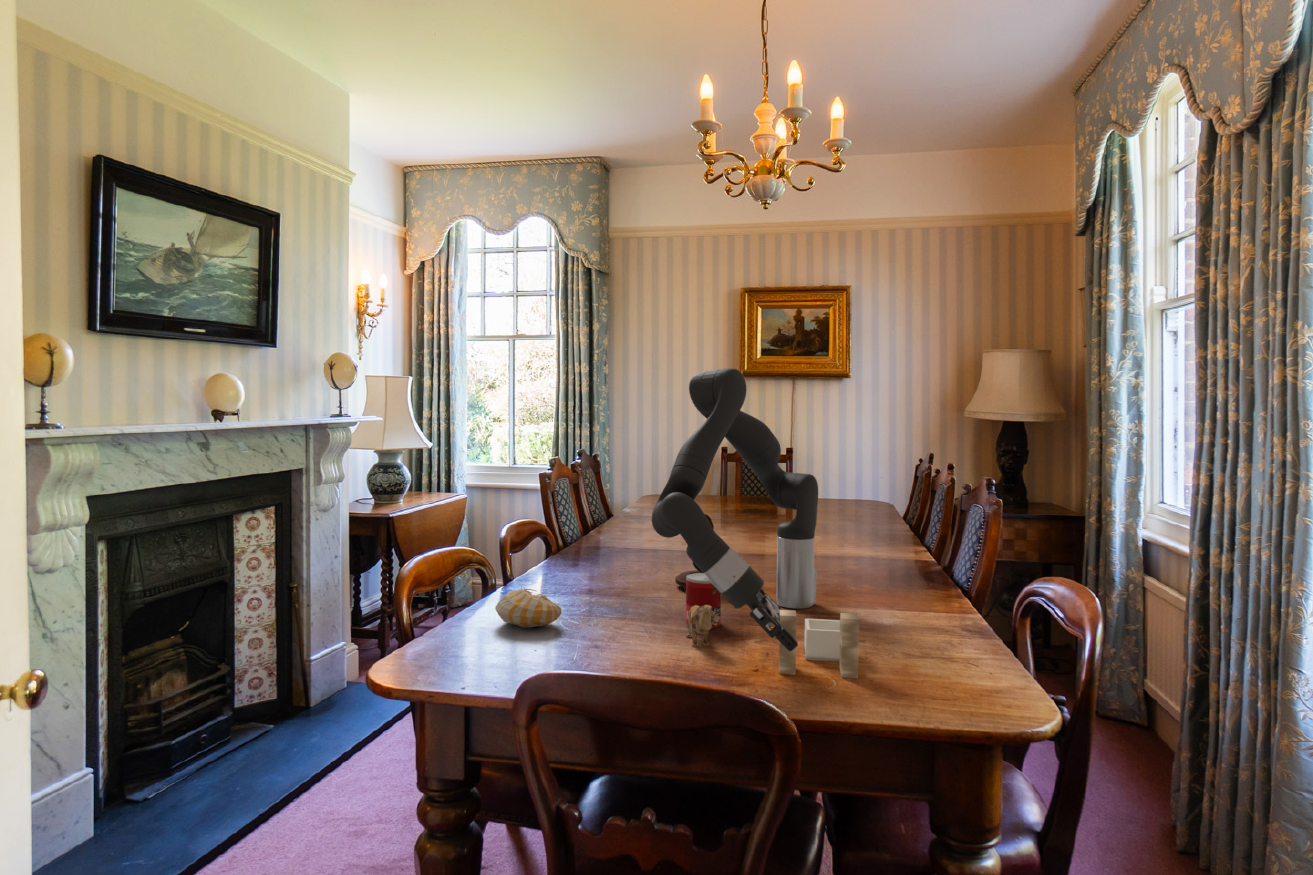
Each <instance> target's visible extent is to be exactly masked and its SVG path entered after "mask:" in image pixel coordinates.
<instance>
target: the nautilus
mask: <svg viewBox="0 0 1313 875" xmlns="http://www.w3.org/2000/svg"><path fill="white" fill-rule="evenodd" d="M520 587H521V588H520V589H517V590H516V589H515V590H510V591H509V592H507V593H505V595H504V596H503V597H502V598H501V599H500V600H499V601H498V602H497V604H496V605H495V608H494V609H495V611H496V612H497V614H498V616H499V618H500V619H501V620H502V621H503V622H504V623H508V624H511V625H515V626H517V627H520V628H522V629H525V628H534V627H544V626H546V625H549V624H551V623H554V622H556V621H557V620H558V619H559V618H560V617H561V615H562V607H561V606H560V605H558V603H556V602H553V601H552V600H550V598H548V597H547V595H545V594H542V593H538V594H533V592H531V591H534V592H537V590H534V589H531V588H523V587H522V585H520Z"/></svg>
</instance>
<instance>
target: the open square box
mask: <svg viewBox="0 0 1313 875" xmlns="http://www.w3.org/2000/svg"><path fill="white" fill-rule="evenodd" d="M803 639H804V640H803V641H804V643H803V644H804V646H803V647H804V655H805V660H806V661H821V662H836V663H839V661H840V619H822V618H821V619H820V618H804V638H803Z"/></svg>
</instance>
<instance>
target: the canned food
mask: <svg viewBox="0 0 1313 875" xmlns="http://www.w3.org/2000/svg"><path fill="white" fill-rule="evenodd" d="M695 605H697V606H704V605H710V606H711V607H712V610H713V611H714V612H715V614H717V615H718V616H719V617H720V619H719V620H718V622H717V625H714V624H712V627H711V629H715V628H718V627H719V626H720V625H721V624H720V623H721V620H722V617H721V616H722V613H721V612H722V610H721V608H722V607H721V606H722V594H721V593H720V591H719V590H718V589H717V588H716V587H715V586H714V585H713V584H712V583H711V582H710V580H709V579H708V578H707V576H706V575H705V574H704V573H695V574H690V575H688V576H687V578H686V591H685V621H686V624H687V625H688V626H689V624H688V617H689V611H690V609H691V607H693V606H695ZM711 629H710V630H711Z"/></svg>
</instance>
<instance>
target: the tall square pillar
mask: <svg viewBox="0 0 1313 875" xmlns="http://www.w3.org/2000/svg"><path fill="white" fill-rule="evenodd" d="M780 623H781V624H782V625H783V626H784V629H786V630H787V632H788V633H789V634H790V635H791V636H792V637H793V638H794V639H795V640H796V641H797V611H796V610H792V609H789V610H788V609H781V610H780ZM778 645H779V646H778V674H779V675H791V676H792V675H793V676H795V675H796V669H797V667H796V666H797V665H796V664H797V663H796V661H797V660H796V659H797V658H796V657H797V647H796V648H795V649H793V650H792V651H788V650H787V649H786V648H785V647H784V646H783V644H782V643H781V642H780V641H779V640H778Z"/></svg>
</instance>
